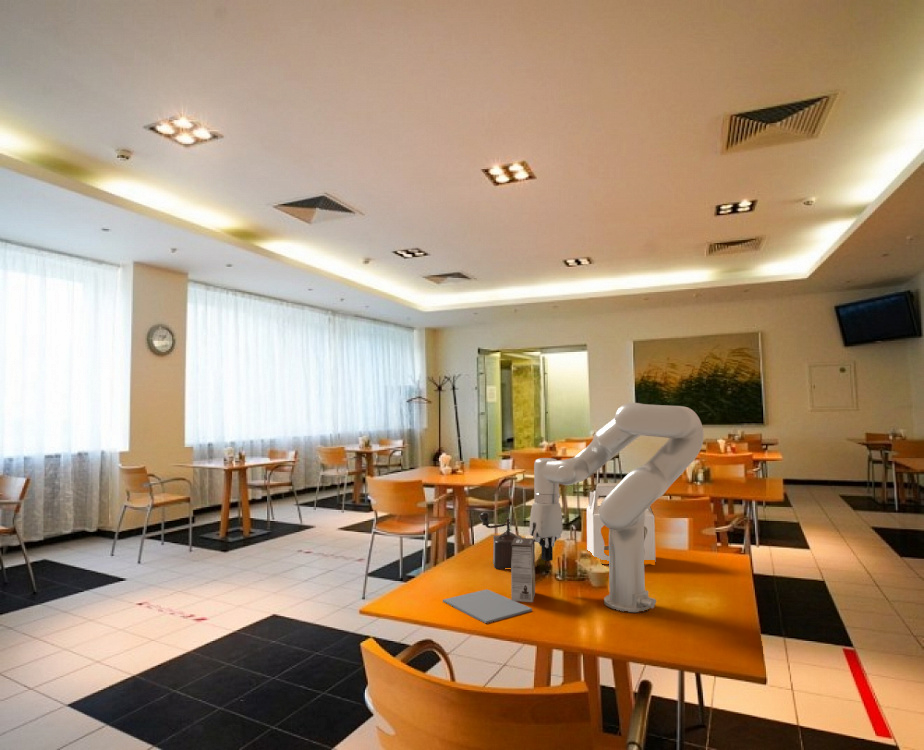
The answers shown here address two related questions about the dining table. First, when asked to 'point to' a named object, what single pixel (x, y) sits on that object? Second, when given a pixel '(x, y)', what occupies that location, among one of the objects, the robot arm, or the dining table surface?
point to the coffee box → (523, 569)
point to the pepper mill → (500, 543)
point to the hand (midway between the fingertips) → (547, 559)
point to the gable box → (595, 524)
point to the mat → (487, 606)
